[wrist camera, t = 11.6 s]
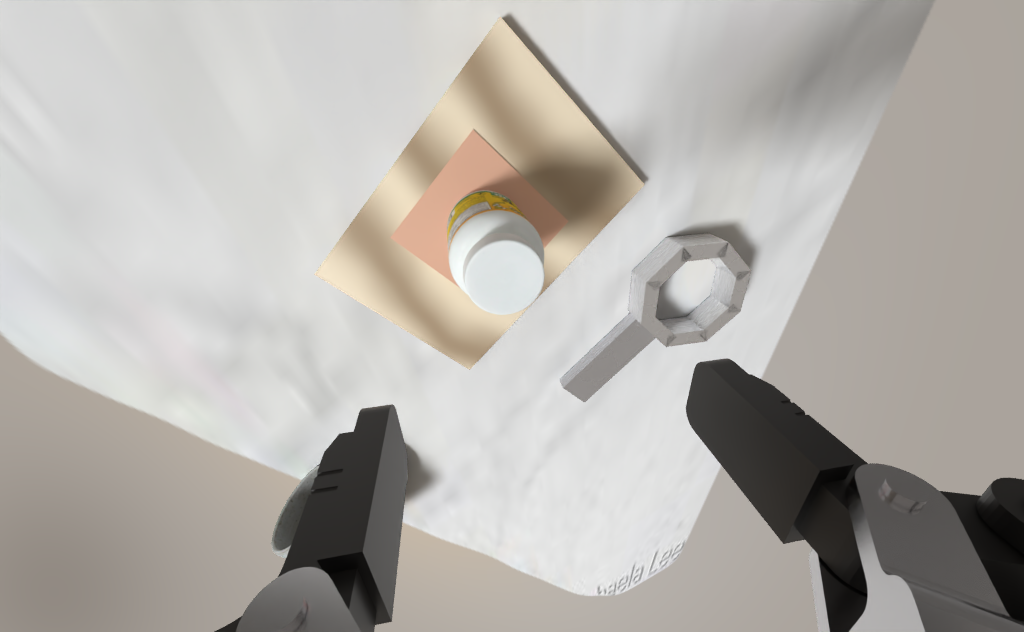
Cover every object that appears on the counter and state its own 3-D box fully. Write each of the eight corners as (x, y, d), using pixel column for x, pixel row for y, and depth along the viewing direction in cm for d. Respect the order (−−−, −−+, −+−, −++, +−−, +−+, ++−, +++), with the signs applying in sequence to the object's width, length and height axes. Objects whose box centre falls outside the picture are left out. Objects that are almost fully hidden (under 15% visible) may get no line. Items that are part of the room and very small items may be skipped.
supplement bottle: (431, 215, 26) (426, 263, 17) (498, 173, 25) (525, 201, 17) (474, 277, 28) (487, 344, 20) (535, 239, 28) (575, 292, 19)
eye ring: (691, 212, 30) (711, 219, 27) (745, 277, 33) (766, 289, 31) (537, 364, 34) (543, 381, 32) (599, 407, 38) (609, 425, 36)
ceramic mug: (357, 520, 40) (339, 601, 33) (288, 486, 36) (253, 570, 30) (429, 466, 38) (426, 541, 31) (365, 425, 34) (346, 500, 28)
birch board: (498, 19, 22) (500, 15, 21) (639, 182, 28) (645, 184, 27) (317, 270, 27) (313, 274, 26) (469, 364, 33) (469, 370, 32)
